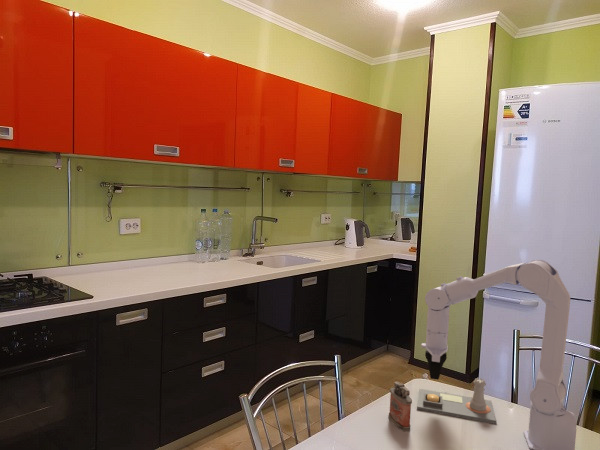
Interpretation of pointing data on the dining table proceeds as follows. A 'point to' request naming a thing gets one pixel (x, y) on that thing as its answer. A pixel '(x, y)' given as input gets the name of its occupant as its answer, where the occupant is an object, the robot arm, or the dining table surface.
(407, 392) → the lighter
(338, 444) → the dining table surface
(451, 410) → the grey board
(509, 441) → the dining table surface
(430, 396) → the button
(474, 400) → the rook chess piece
